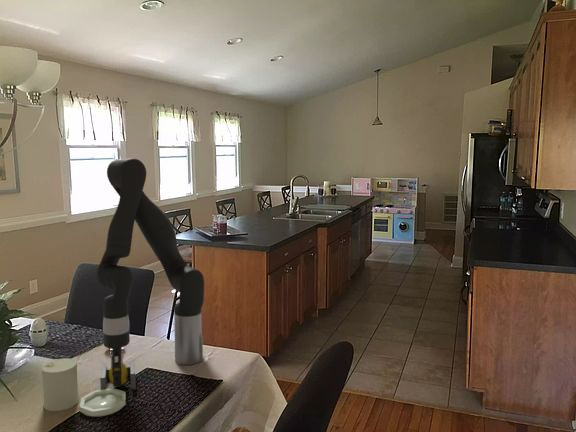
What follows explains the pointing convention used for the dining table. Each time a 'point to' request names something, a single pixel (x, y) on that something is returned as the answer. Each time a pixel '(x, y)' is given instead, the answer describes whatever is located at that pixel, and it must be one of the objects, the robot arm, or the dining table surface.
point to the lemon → (123, 375)
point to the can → (60, 384)
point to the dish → (102, 402)
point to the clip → (105, 374)
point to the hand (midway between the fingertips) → (117, 379)
